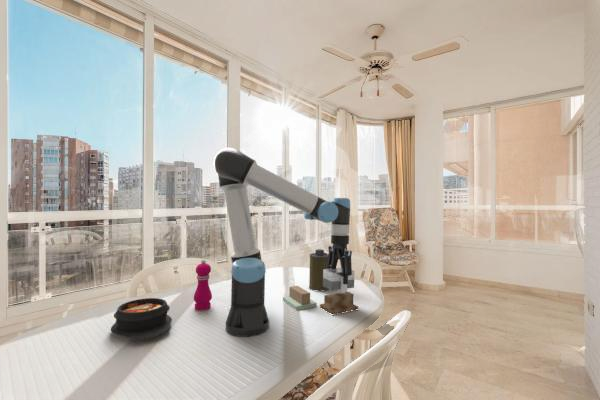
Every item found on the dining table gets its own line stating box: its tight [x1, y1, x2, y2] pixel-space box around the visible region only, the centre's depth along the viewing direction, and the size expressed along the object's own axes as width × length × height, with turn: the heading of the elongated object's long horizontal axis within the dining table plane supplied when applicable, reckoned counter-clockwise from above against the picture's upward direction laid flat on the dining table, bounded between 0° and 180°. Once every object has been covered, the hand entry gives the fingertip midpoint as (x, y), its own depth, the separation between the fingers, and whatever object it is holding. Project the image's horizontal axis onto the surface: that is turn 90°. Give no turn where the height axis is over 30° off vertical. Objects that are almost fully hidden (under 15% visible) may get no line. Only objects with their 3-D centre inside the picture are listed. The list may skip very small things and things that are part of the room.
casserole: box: [110, 297, 173, 341], centre depth 102 cm, size 25×19×8 cm
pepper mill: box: [193, 259, 213, 311], centre depth 123 cm, size 7×7×20 cm
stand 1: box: [282, 285, 318, 311], centre depth 130 cm, size 10×13×6 cm
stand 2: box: [319, 291, 359, 315], centre depth 125 cm, size 13×9×6 cm
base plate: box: [323, 278, 355, 291], centre depth 124 cm, size 11×7×4 cm, turn 118°
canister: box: [308, 248, 329, 292], centre depth 154 cm, size 11×10×20 cm
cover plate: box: [323, 267, 356, 282], centre depth 125 cm, size 11×7×5 cm, turn 118°
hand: (338, 288), depth 124 cm, fingers closed on base plate, cover plate, 7 cm apart
